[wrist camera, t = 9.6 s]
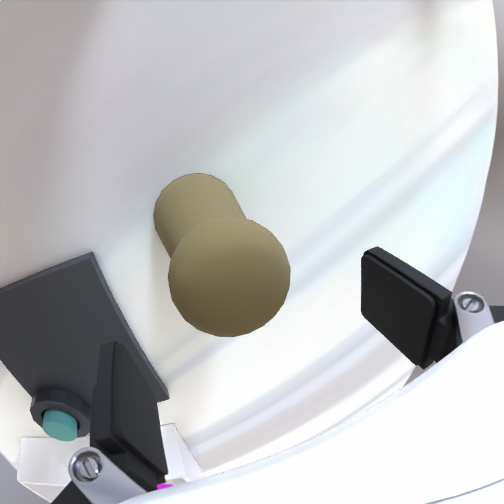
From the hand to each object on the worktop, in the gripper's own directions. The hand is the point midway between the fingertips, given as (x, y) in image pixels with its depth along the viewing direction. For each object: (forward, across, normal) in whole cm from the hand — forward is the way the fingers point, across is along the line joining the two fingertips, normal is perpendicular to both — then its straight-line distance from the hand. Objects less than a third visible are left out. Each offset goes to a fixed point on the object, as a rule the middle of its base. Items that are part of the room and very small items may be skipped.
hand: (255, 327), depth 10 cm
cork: (+12, 0, -1) cm, 12 cm away
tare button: (+10, +20, +13) cm, 25 cm away
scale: (+12, +15, +7) cm, 21 cm away
